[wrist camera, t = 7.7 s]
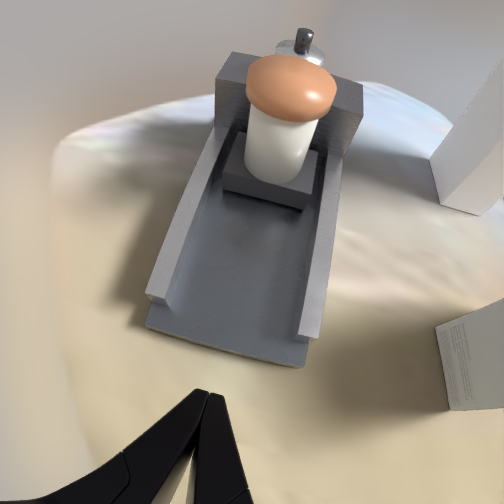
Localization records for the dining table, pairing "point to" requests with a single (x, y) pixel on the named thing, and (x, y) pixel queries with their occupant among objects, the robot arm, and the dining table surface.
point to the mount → (252, 240)
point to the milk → (474, 151)
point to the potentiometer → (302, 47)
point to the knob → (280, 130)
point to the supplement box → (474, 358)
